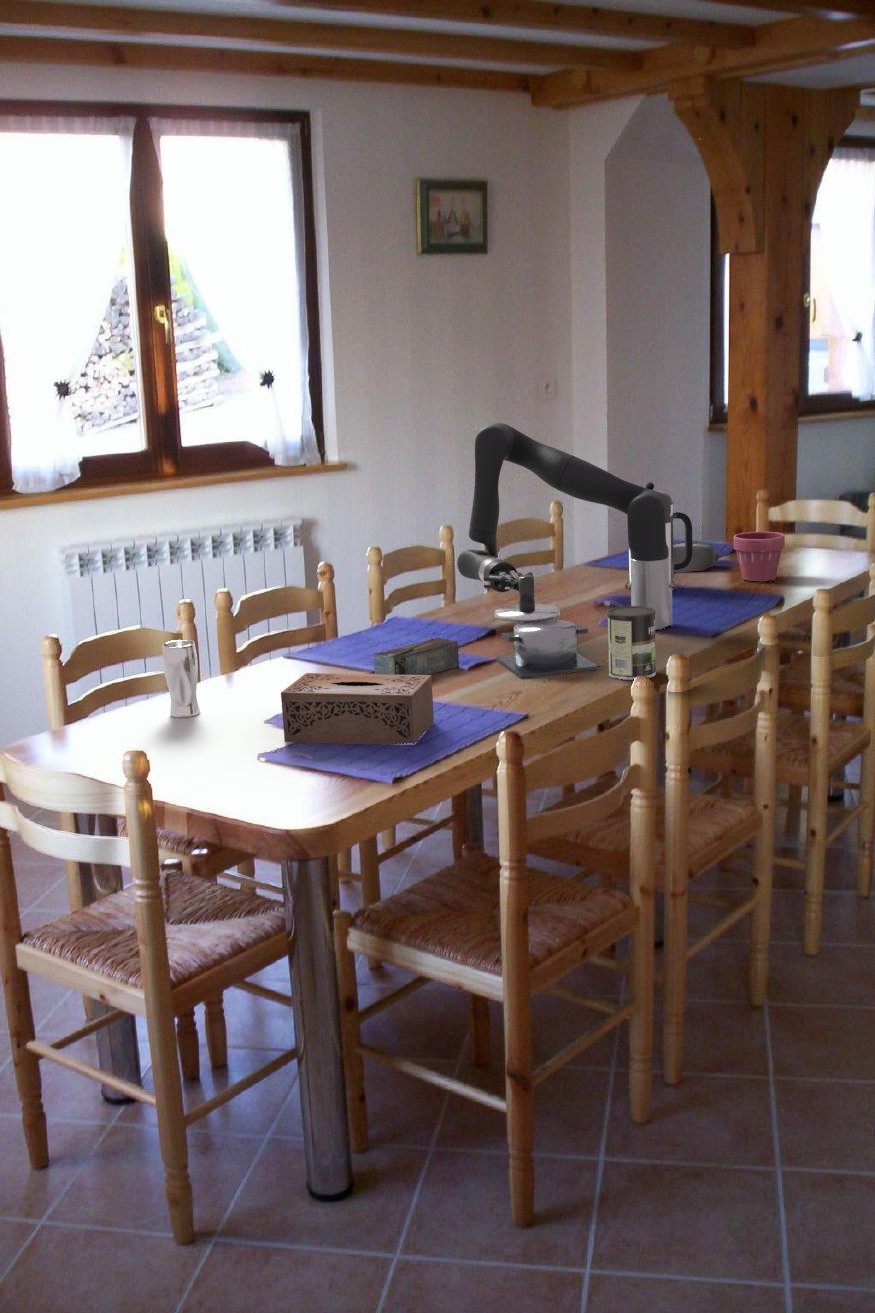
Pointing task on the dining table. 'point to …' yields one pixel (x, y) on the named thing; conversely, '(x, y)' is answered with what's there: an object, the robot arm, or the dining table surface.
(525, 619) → the lid
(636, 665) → the coffee can
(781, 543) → the plant pot
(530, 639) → the pot
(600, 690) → the dining table surface
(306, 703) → the tissue box cover
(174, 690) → the crushed soda can
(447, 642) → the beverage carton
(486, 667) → the dining table surface
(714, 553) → the grey dish
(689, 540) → the coffee press
